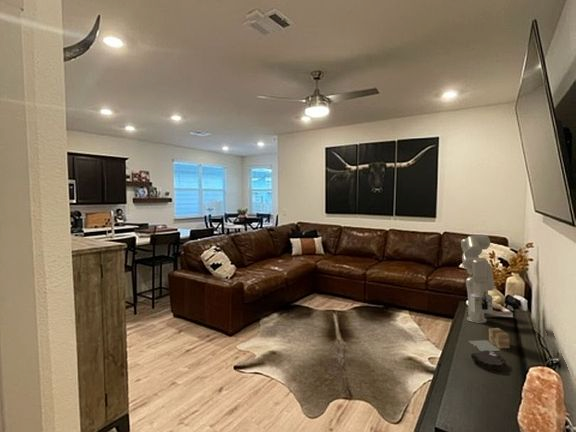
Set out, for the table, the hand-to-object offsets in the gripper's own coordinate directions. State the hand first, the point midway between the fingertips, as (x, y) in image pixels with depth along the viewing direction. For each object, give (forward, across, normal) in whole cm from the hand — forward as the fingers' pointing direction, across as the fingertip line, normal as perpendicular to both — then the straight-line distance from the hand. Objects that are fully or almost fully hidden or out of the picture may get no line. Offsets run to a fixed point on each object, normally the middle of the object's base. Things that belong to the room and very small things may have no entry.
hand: (481, 307), depth 203 cm
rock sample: (+21, +31, -14) cm, 40 cm away
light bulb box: (+3, 0, 0) cm, 3 cm away
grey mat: (+20, +10, -5) cm, 23 cm away
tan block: (+20, +9, +5) cm, 22 cm away
